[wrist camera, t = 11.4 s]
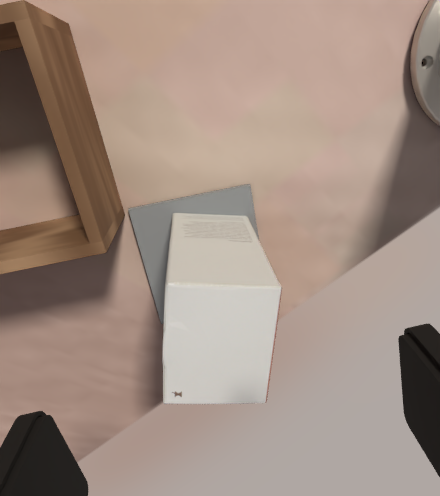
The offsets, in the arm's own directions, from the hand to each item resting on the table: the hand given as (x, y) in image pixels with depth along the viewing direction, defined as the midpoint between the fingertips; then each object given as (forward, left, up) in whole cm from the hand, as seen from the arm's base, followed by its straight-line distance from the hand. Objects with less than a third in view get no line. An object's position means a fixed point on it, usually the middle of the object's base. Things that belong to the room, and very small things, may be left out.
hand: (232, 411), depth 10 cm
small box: (+1, +6, -23) cm, 24 cm away
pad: (+1, +6, -24) cm, 24 cm away
